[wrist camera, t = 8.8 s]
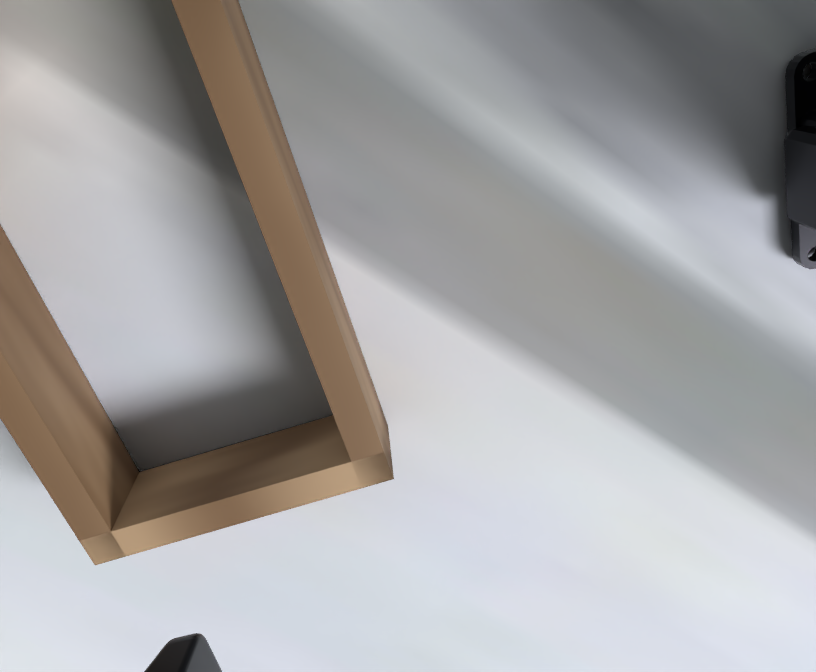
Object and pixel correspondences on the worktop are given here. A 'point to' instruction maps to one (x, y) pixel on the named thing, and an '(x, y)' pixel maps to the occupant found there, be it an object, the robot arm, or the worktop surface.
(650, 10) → the worktop surface
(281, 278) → the dock
